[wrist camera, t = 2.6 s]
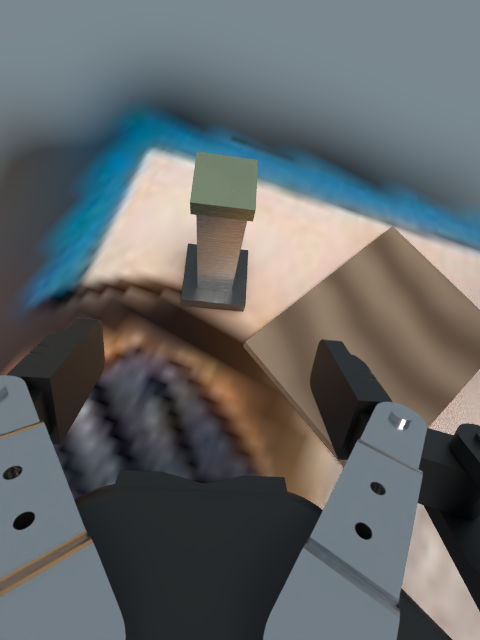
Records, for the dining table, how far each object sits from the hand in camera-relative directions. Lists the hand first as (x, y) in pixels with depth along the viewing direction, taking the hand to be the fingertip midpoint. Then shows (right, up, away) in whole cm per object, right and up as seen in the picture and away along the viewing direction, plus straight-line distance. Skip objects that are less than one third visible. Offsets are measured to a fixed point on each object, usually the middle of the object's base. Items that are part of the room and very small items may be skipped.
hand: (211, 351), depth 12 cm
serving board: (+14, -1, +18) cm, 23 cm away
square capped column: (-1, +5, +18) cm, 19 cm away
